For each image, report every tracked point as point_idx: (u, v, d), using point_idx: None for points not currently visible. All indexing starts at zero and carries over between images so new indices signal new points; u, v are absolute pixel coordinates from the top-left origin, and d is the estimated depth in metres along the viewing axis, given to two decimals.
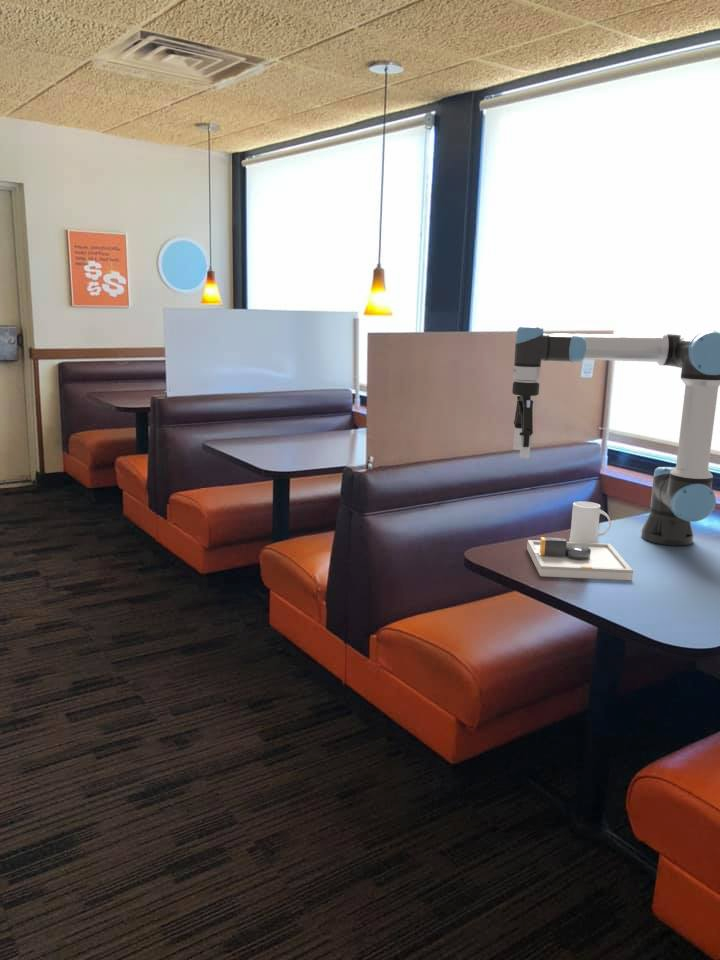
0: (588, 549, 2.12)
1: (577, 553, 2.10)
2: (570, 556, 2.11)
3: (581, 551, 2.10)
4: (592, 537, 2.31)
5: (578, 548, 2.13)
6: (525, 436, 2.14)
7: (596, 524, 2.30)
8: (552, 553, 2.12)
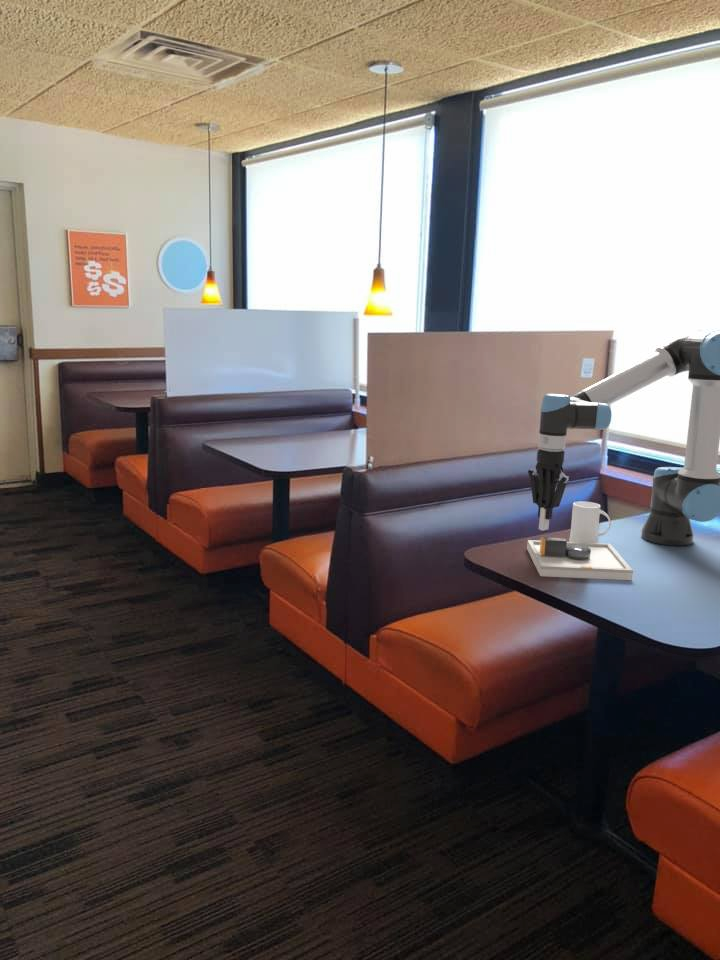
0: (588, 549, 2.12)
1: (577, 553, 2.10)
2: (570, 556, 2.11)
3: (581, 551, 2.10)
4: (592, 537, 2.31)
5: (578, 548, 2.13)
6: (550, 509, 2.17)
7: (596, 524, 2.30)
8: (552, 553, 2.12)
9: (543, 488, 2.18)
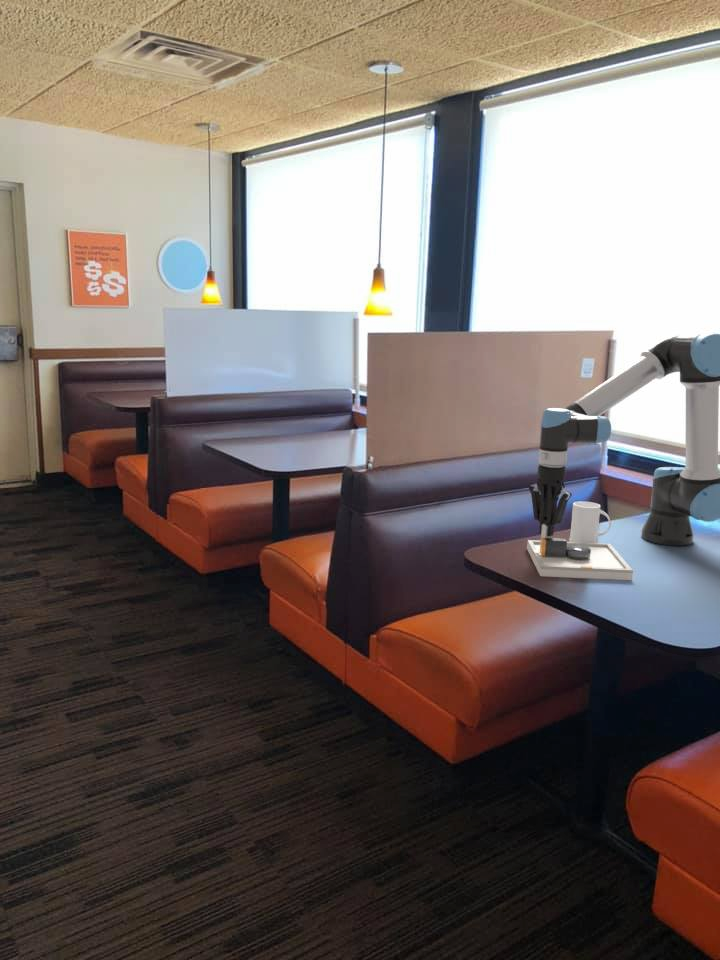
0: (588, 549, 2.12)
1: (577, 553, 2.10)
2: (570, 556, 2.11)
3: (581, 551, 2.10)
4: (592, 537, 2.31)
5: (578, 548, 2.13)
6: (552, 526, 2.13)
7: (596, 524, 2.30)
8: (552, 553, 2.12)
9: (544, 504, 2.13)
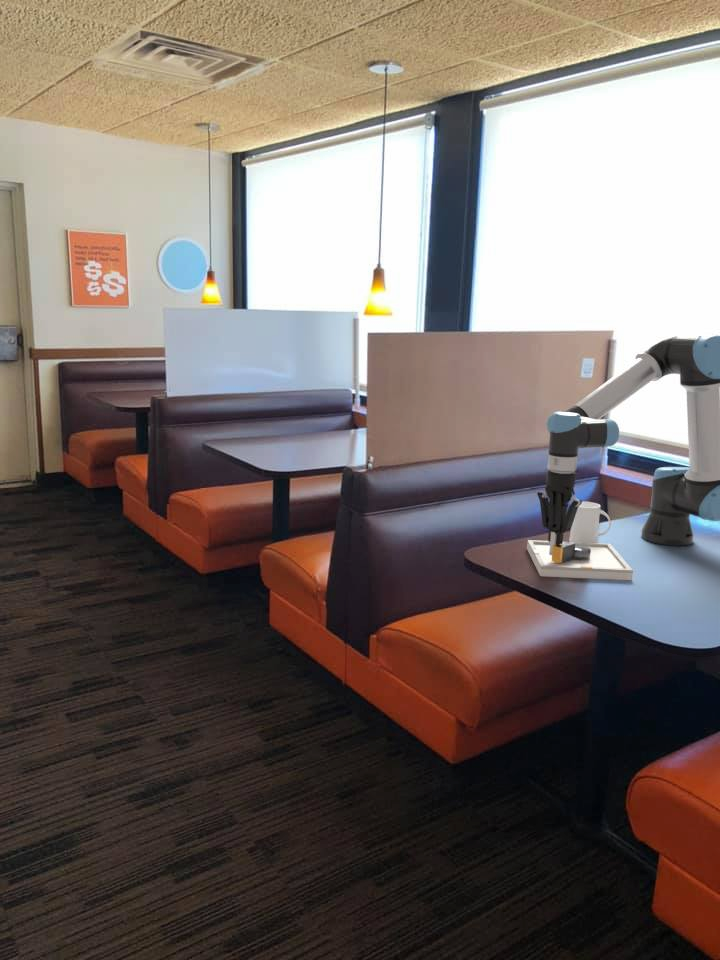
0: (585, 547, 2.14)
1: (586, 553, 2.10)
2: (580, 557, 2.10)
3: (587, 550, 2.11)
4: (592, 537, 2.31)
5: (578, 548, 2.13)
6: (561, 533, 2.06)
7: (596, 524, 2.30)
8: (566, 559, 2.08)
9: (553, 511, 2.07)
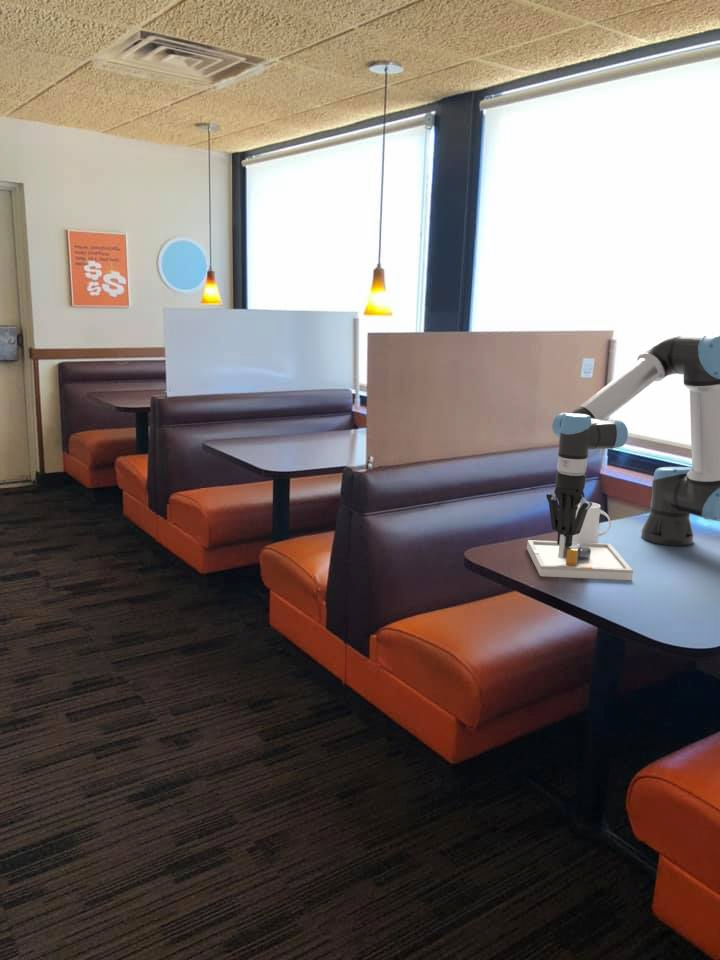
0: (581, 546, 2.15)
1: (589, 552, 2.11)
2: (585, 557, 2.10)
3: (587, 549, 2.12)
4: (592, 537, 2.31)
5: None
6: (570, 536, 2.04)
7: (596, 524, 2.30)
8: (577, 561, 2.06)
9: (563, 514, 2.04)
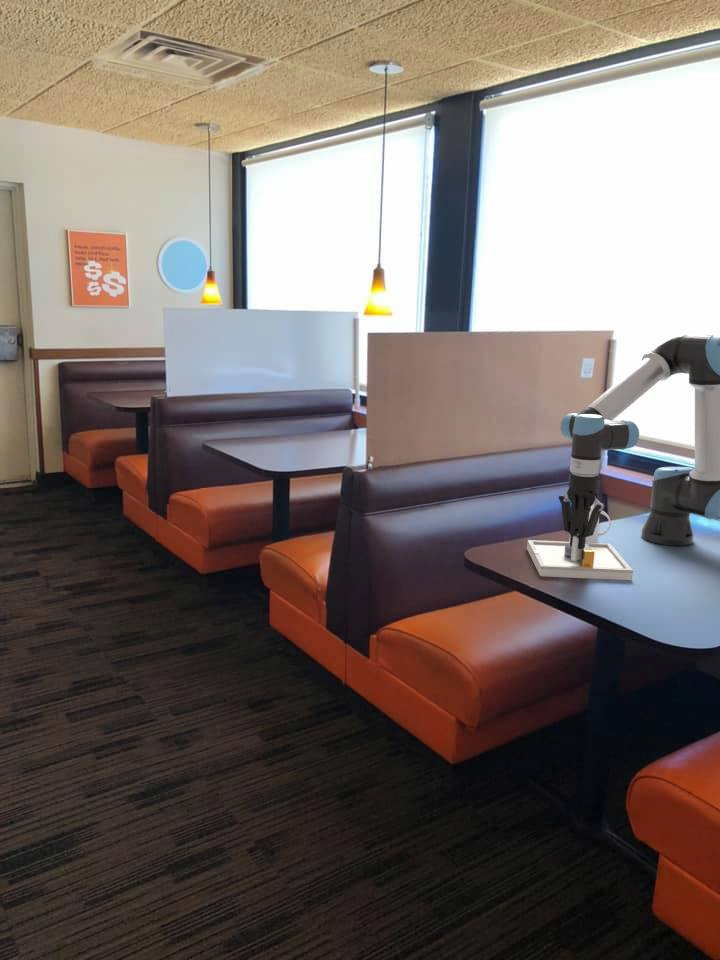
0: None
1: None
2: None
3: None
4: (592, 537, 2.31)
5: None
6: (583, 538, 2.02)
7: None
8: None
9: (575, 515, 2.02)
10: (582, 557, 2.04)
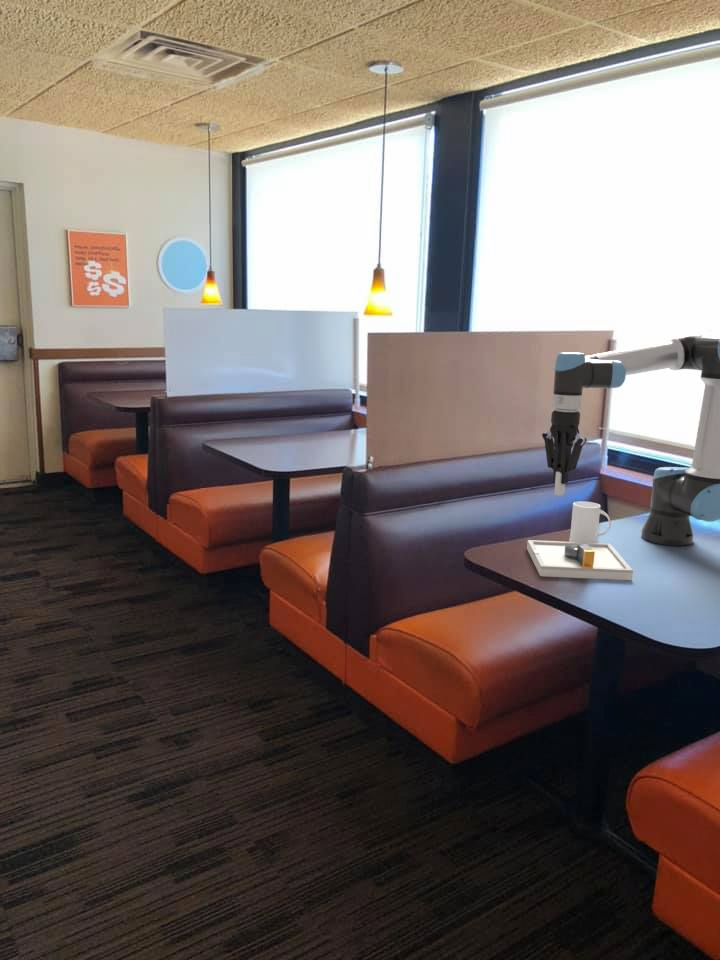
0: (576, 545, 2.16)
1: None
2: None
3: None
4: (592, 537, 2.31)
5: None
6: (566, 473, 2.09)
7: (596, 524, 2.30)
8: None
9: (558, 451, 2.09)
10: (582, 557, 2.04)
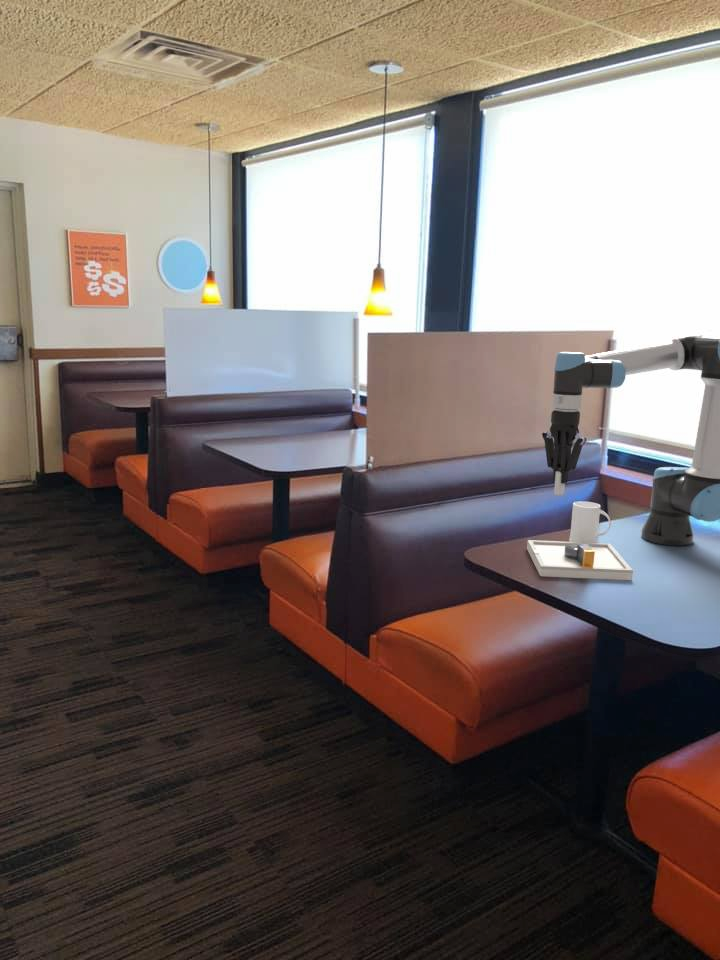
0: (576, 545, 2.16)
1: None
2: None
3: None
4: (592, 537, 2.31)
5: None
6: (566, 472, 2.09)
7: (596, 524, 2.30)
8: None
9: (558, 451, 2.09)
10: (582, 557, 2.04)
